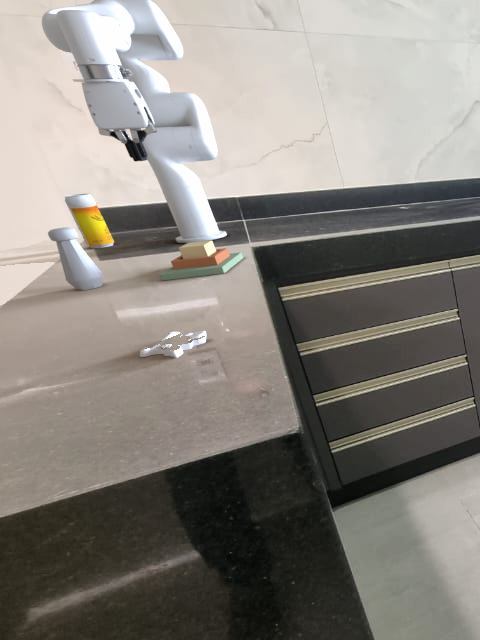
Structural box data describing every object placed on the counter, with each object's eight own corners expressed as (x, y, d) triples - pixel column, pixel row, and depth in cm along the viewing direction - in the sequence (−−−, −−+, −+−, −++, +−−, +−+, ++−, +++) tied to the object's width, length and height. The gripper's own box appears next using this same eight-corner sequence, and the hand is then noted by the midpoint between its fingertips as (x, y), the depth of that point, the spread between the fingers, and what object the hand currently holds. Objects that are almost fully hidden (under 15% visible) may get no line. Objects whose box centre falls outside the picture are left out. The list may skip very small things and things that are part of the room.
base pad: (188, 264, 133) (182, 250, 132) (243, 258, 137) (238, 244, 136) (162, 280, 120) (155, 265, 118) (224, 273, 123) (218, 258, 122)
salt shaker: (85, 291, 114) (53, 231, 108) (64, 291, 115) (32, 231, 110) (114, 283, 119) (85, 225, 114) (94, 283, 120) (65, 225, 115)
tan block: (195, 261, 130) (187, 242, 128) (219, 258, 131) (212, 240, 129) (186, 266, 125) (178, 247, 123) (211, 264, 126) (203, 245, 124)
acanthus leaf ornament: (176, 339, 86) (172, 328, 85) (216, 338, 86) (211, 328, 85) (134, 358, 79) (128, 347, 78) (176, 358, 79) (171, 346, 78)
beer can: (118, 245, 160) (94, 193, 153) (92, 249, 155) (66, 197, 149) (111, 243, 163) (87, 193, 156) (85, 247, 158) (59, 196, 152)
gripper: (151, 75, 126) (183, 157, 134) (71, 76, 121) (110, 161, 129) (137, 73, 119) (172, 159, 127) (53, 75, 115) (94, 164, 123)
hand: (140, 160), depth 128 cm, fingers closed
